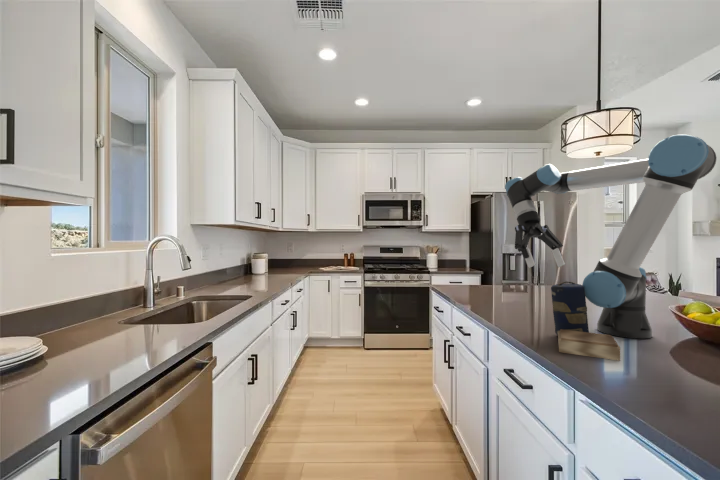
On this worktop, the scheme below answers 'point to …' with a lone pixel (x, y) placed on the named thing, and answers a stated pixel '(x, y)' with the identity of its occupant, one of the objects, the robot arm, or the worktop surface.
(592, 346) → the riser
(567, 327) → the canister
